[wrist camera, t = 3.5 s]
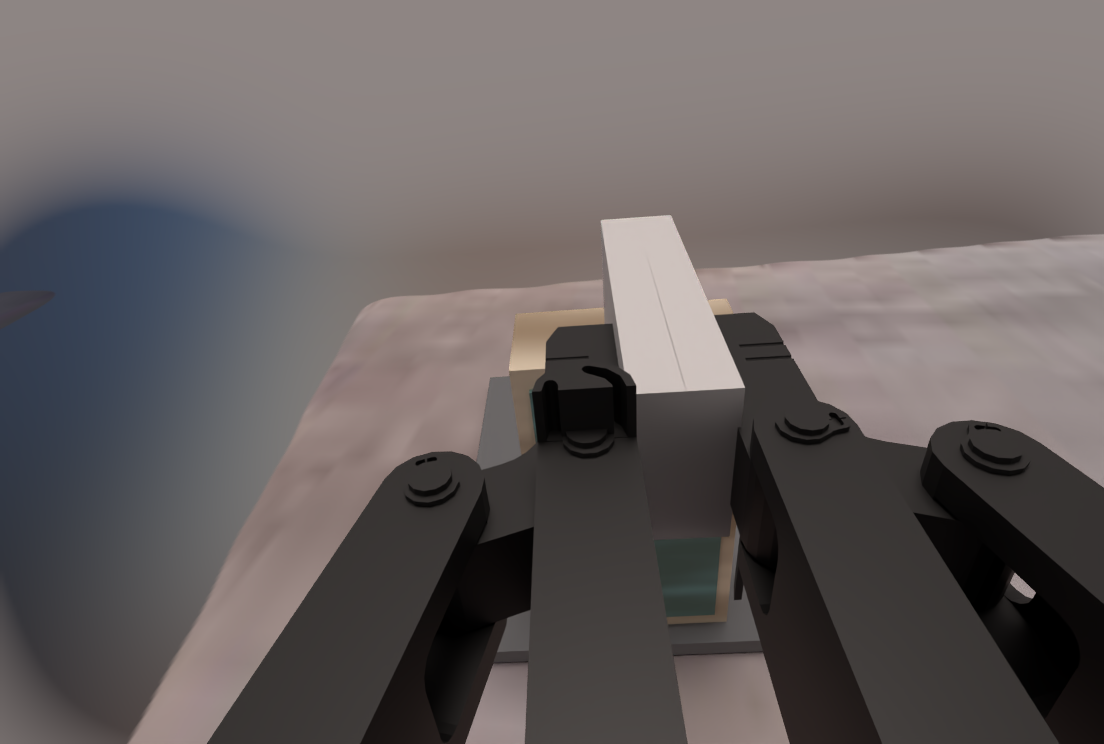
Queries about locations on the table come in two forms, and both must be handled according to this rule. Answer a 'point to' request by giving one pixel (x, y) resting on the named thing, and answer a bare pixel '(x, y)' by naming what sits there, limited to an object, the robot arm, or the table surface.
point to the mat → (514, 647)
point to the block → (684, 564)
